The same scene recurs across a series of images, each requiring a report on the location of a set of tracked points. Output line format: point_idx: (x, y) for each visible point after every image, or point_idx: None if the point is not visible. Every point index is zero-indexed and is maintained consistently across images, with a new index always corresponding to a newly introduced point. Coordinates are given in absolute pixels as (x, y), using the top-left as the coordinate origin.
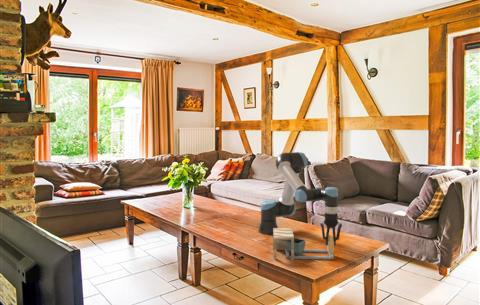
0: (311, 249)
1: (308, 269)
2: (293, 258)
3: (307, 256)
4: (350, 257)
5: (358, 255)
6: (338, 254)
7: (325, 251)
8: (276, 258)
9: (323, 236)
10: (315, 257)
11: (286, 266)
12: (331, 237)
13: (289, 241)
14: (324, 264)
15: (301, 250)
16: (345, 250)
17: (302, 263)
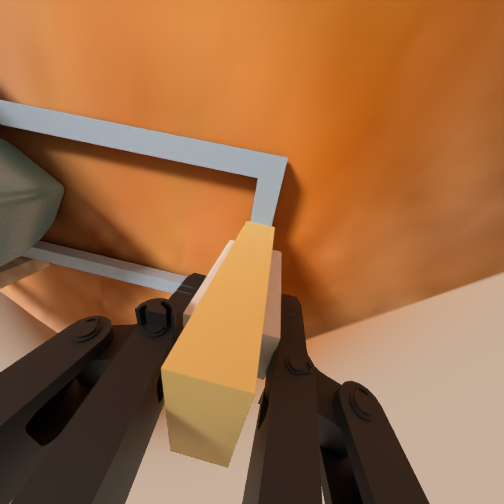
0: (112, 122)
1: None
2: (38, 269)
3: (100, 270)
4: (386, 287)
5: (489, 266)
6: (335, 221)
7: (239, 172)
8: None
9: (53, 413)
10: (147, 285)
11: (44, 315)
12: (201, 456)
13: None
14: None
15: (26, 231)
16: (500, 109)
17: (97, 305)
